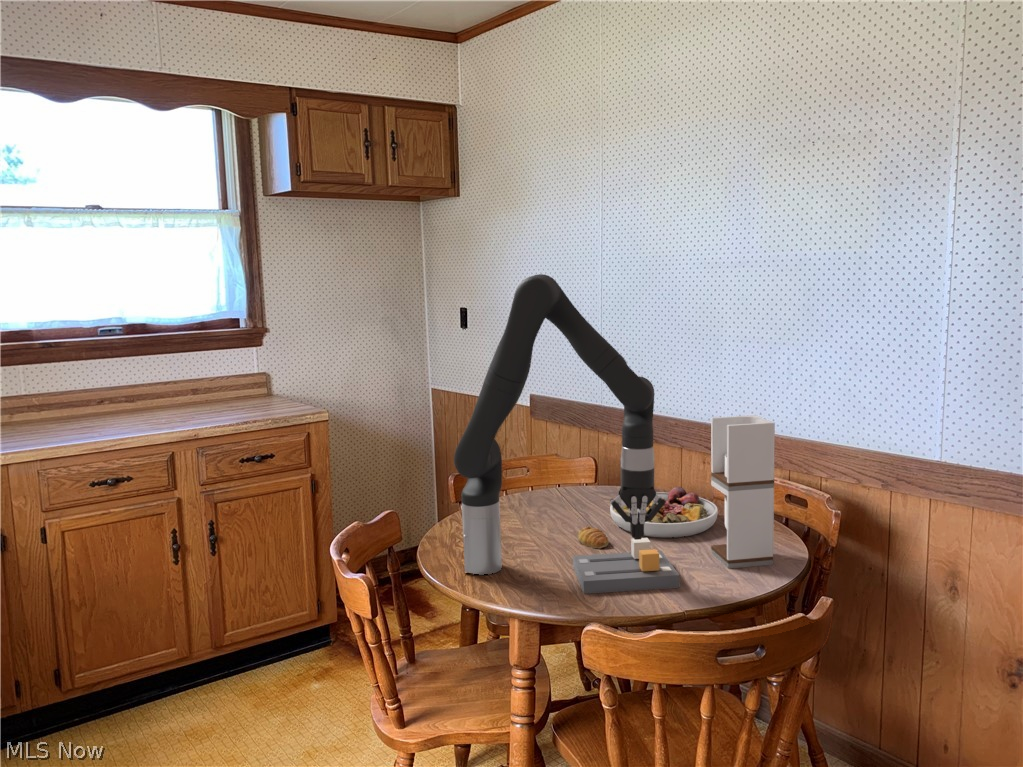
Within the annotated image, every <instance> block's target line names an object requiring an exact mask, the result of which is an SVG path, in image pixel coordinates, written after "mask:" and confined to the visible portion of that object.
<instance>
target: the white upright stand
mask: <svg viewBox="0 0 1023 767" xmlns="http://www.w3.org/2000/svg"><path fill="white" fill-rule="evenodd" d="M710 422H711V424H710V425H711V426H710V427H711V428H710V430H711V431H710V432H711V433H710V435H711V436H710V441H711V442H710V443H711V447H710V449H711V450H710V451H711V453H710V456H711V457H710V461H711V462H710V464H711V465H710V466H711V467H710V468H711V469H710V472H711V474H710V475H711V476H710V477H711V479H710V481H711V482H710V483H711V484H710V485H711V486H712V488H714V489H716V490H718V491H719V492H721V493H722V495H723V494H724V527H725V529H726V543H725V544H714V545H712V544H711V545H710V546H711V547H710V550H711V552H710V553H711V554H712V555H713V556H714V557H715V558H716V559H717V560H718V561H719V562H720V561H721V563H722V564H723V565H724V566H725V567H726V568H727V569H738V568H749V567H751V568H752V567H760V566H771V565H774V526H775V525H774V524H775V523H774V522H775V518H774V517H775V514H774V513H775V512H774V511H775V506H774V505H775V446H776V445H775V442H776V441H775V437H776V436H775V433H776V430H775V427H776V422H774V421H771V420H768V419H767V418H763V417H761V416H758V415H756V414H752V415H748V414H747V415H736V416H735V415H734V416H719V417H717V416H716V417H715V416H714V417H711V418H710Z"/></svg>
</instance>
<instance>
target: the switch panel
mask: <svg viewBox="0 0 1023 767" xmlns="http://www.w3.org/2000/svg"><path fill="white" fill-rule="evenodd" d="M657 551H658V553H659V570H657V571H642V570H641V569H640V567H639V559H634V558H633V556H632V555H631V551H630V552H617V553H615V552H613V553H599V554H597V553H596V554H585V555H572V569H573V570H574V573H575V576H576V578H577V581H578V583H579V586H580V587H581V590H582V593H583V594H587V595H588V594H601V593H615V592H617V593H618V592H619V593H620V592H633V591H647V590H660V589H661V590H662V589H663V590H664V589H679V588H680V587H681V586H680V574H679V572H678V571H677V570H676V569H675V567H674V566H673V564H672V563H671V562H670V560H669V559H668V558H667V556H666V555H665V554H664V552H663V551H662V550H657Z"/></svg>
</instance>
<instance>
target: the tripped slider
mask: <svg viewBox="0 0 1023 767" xmlns="http://www.w3.org/2000/svg"><path fill="white" fill-rule="evenodd" d="M658 551H659V550H657V549H656V548H654V549H650V550H639V567H640V569H641V570H642V571H657V570H659V553H658Z"/></svg>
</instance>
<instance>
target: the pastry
mask: <svg viewBox="0 0 1023 767" xmlns="http://www.w3.org/2000/svg"><path fill="white" fill-rule="evenodd" d="M577 539H578V541H579V543H581V544H582V545H583V546H586V547H588V548H591V547H592V549H602V548H606V547H608V545H609V543H610V540H609V538H608V537H607V535H606V534H605V533H604V531H602V530H600V529H599V528H597V527H596V528H594V527H593V526H585V527H583V528H581V530H579V532H578V534H577Z"/></svg>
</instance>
